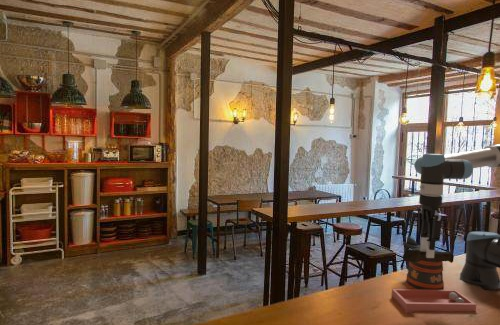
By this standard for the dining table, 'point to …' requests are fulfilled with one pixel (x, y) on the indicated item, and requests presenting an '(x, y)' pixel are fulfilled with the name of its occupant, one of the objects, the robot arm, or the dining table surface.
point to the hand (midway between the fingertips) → (427, 255)
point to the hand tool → (421, 256)
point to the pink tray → (430, 300)
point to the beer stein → (423, 271)
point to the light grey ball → (453, 296)
